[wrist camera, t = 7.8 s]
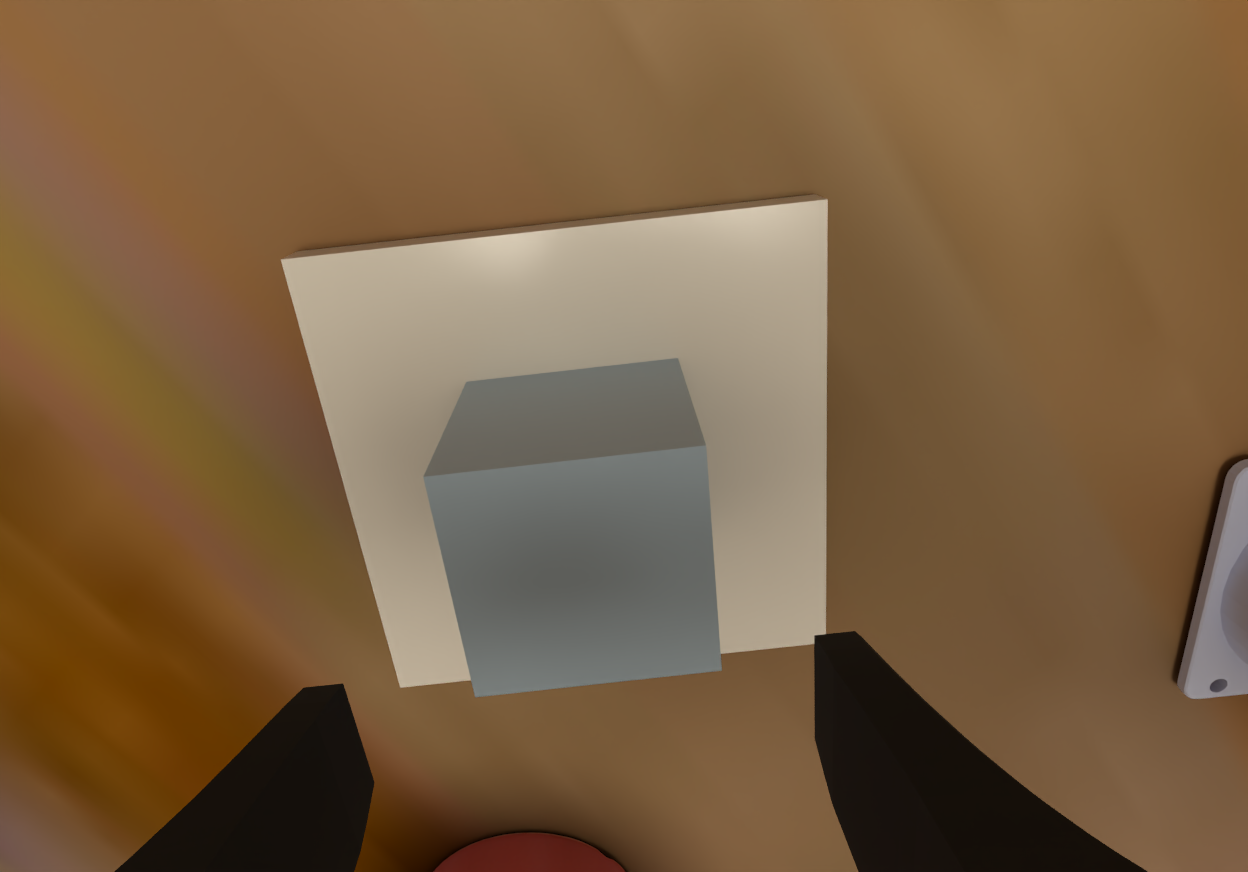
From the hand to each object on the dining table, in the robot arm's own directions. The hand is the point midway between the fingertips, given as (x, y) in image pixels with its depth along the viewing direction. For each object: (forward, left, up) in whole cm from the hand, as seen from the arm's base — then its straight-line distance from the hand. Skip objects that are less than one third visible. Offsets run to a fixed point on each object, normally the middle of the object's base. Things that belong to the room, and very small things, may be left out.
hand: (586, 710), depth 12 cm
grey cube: (0, 0, -8) cm, 8 cm away
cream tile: (0, 0, -9) cm, 9 cm away
